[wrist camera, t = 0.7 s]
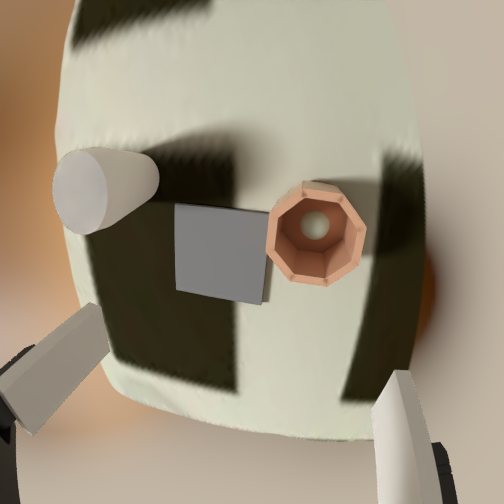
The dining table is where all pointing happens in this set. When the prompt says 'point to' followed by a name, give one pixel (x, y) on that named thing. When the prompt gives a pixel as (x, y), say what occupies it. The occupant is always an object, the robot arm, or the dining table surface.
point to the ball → (314, 224)
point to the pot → (315, 251)
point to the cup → (101, 187)
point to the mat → (221, 252)
